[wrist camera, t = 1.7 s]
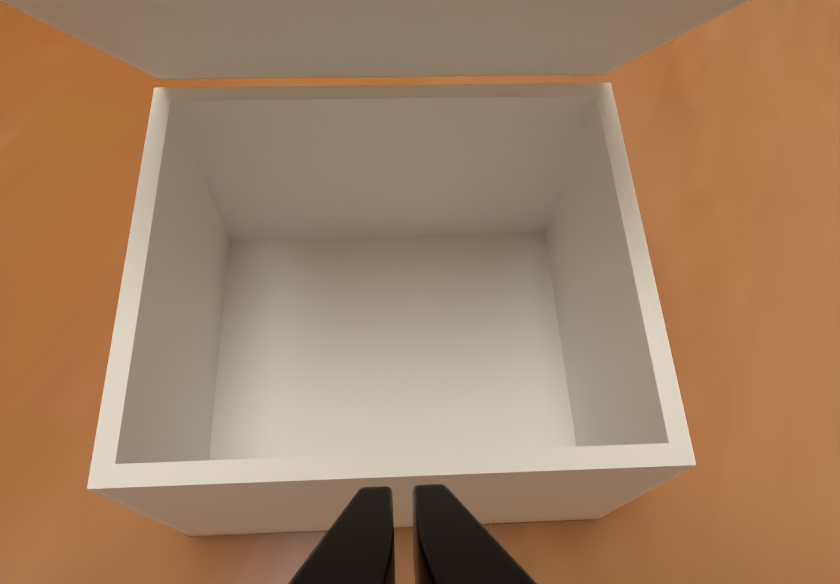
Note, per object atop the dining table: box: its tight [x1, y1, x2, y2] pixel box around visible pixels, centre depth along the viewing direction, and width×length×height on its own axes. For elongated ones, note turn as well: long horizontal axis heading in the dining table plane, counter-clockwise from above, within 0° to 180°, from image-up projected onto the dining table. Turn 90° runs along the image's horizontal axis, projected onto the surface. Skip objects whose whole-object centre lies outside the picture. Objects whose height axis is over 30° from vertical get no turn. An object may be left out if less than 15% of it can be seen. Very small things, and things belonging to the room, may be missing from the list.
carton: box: [87, 83, 696, 537], centre depth 21 cm, size 11×13×8 cm
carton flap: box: [0, 0, 750, 79], centre depth 14 cm, size 11×13×1 cm
